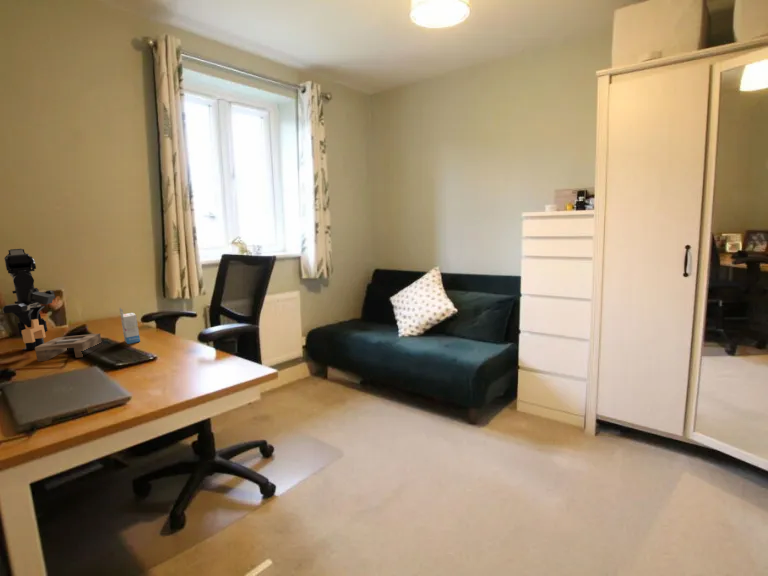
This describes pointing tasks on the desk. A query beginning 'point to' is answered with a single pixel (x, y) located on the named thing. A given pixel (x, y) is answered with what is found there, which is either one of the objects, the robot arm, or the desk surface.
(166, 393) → the desk surface
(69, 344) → the hook shelf
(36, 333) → the pale wooden stand block
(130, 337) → the ink box
